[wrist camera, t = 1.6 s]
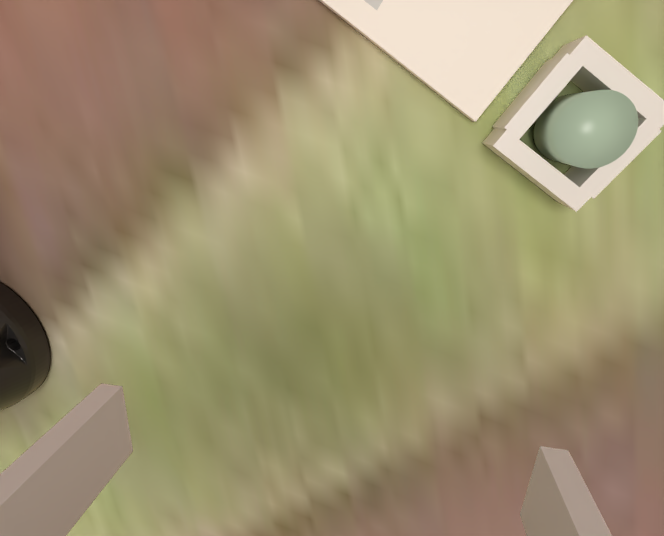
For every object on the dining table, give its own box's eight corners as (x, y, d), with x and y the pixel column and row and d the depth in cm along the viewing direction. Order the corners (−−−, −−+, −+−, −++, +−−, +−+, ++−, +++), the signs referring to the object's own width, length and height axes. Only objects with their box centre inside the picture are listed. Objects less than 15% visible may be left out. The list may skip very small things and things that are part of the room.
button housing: (479, 141, 29) (490, 144, 26) (560, 43, 26) (583, 33, 23) (558, 202, 30) (578, 213, 26) (645, 113, 27) (679, 113, 24)
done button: (519, 136, 27) (539, 139, 23) (568, 79, 25) (598, 72, 22) (567, 174, 27) (594, 183, 24) (618, 120, 26) (655, 120, 22)
